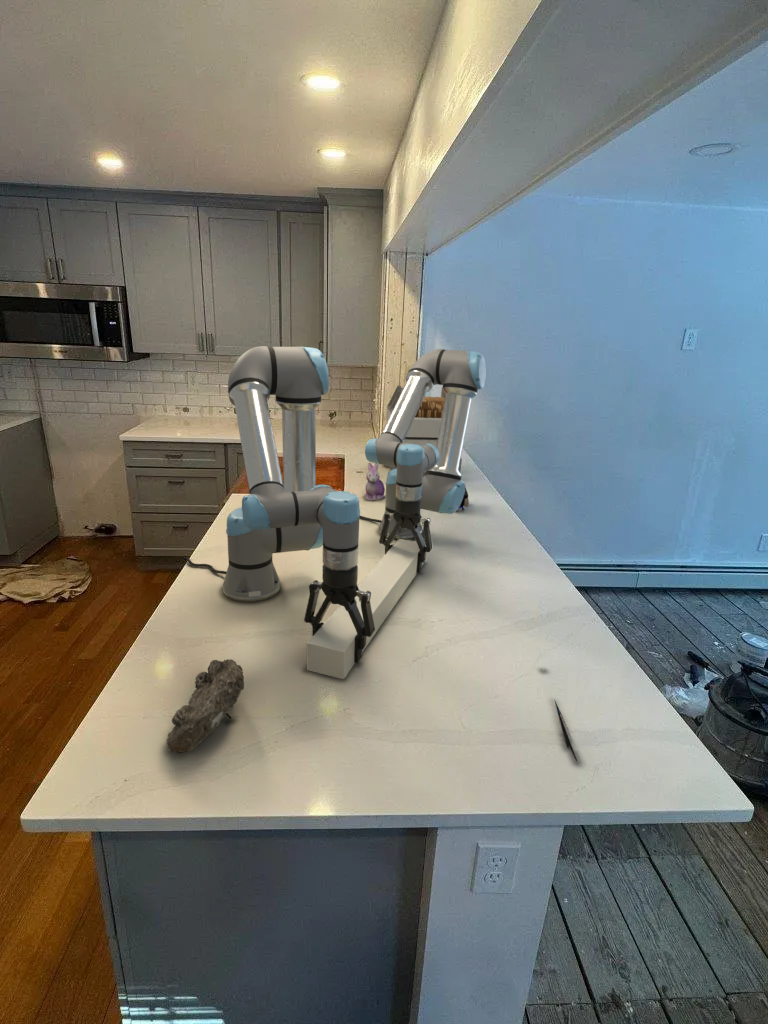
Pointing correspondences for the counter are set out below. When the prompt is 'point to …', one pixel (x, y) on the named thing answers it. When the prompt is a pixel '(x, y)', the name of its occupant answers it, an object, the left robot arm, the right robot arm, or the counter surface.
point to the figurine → (374, 484)
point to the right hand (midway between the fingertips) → (404, 568)
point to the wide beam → (337, 634)
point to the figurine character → (464, 500)
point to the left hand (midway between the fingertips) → (338, 654)
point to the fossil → (206, 705)
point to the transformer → (422, 421)
